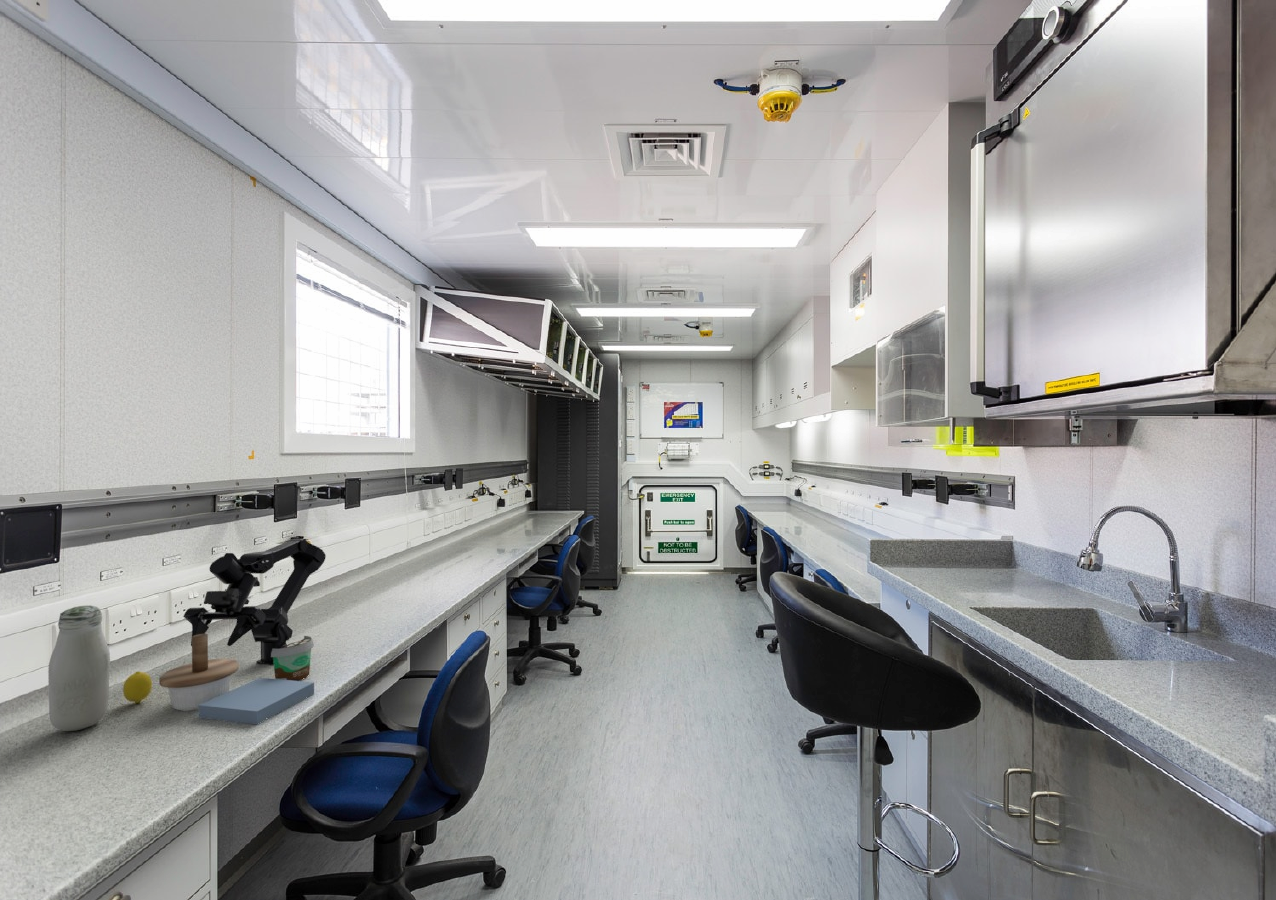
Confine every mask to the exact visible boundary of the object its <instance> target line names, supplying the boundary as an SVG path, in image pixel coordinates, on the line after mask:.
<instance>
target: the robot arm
mask: <svg viewBox="0 0 1276 900" xmlns="http://www.w3.org/2000/svg"><path fill="white" fill-rule="evenodd" d="M290 557H291V558H292V559H293V561H292V563H293V571H292V572H291V573H290V575H289V576H288V579H287V580H286V582H285V583H284V585H283V587H282V588H281V589H280V592H279V593H278V595H277V597H276V598H275V599H274V601H273V603H272V605H271V606H270V607H269V608H262V609H261V608H260V606H258V605H250V606H246V605H248V604H249V603H250V600H249V599H248V598H249V596H250V594H251V593H252V590H253V589H254V587H260V586H261V582H260V581H259V578H258V576H254V575H253V574H255V575H256V574H260V575H261V574H265V573H267V572H269V571H270V570H271V569H272V568H274V567H275V566H274V565H275V564H276V563H278V562H280V561H282V560H285V559H286V558H290ZM326 557H327V556H326V553H325V552H324V550H323V549H321V548H320V547H318V546H317V545H314V544H312V543H311V542H309V541H308V540H306V539H304V538H291V539H288V540H287V541H285V542H283V543H280V544H277V545H275V546H273V547H270V548H268V549H266V550H263V551H255V552H254V551H253V552H247V553H244V554H242V555H241V556H240V557H239V558H238V557H236V555H235V554H234V552H226V553H225V554H224V555H223V556H221V557H219V558H217V559H216V560H214V561H213V562H211V564H210V565H209V572H210V573H211V574H212V575H213V576H214V577H216V578H217V580H219V581H220V582H221V583H223V584H225V585H228V586H227V588H226V590H211V591H210V590H208V591H206V592H205V598H204V600H203V605H210V608H211V610H214V611H213V612H212V611H211V612H209V611H208V610H207V609H206V608H205V607H189V608H187V609H186V611H185V612H184V614H183V618H184V619H185V620H186V621H187V622H189V624H191V631H192V632H191V641H190V647H192V636H194V635H198V634H207V631H208V630H209V627H210V625H211V623H212V621H217V620H218V621H219V620H236V624H235V626H234V628H233V630H232V632H231V634H230V636H229V638H228V640H227V643H226V644H227V646H228V647H232V645H234V644H235V643H236V642H237V641H239V640H240V639H241V638H242V637H243V636H245V634H247V633H248V632H250V631H251V634H252V637H253V640H254V643H257V642H259V643H260V659H257V660H256V664H266V665H274V662H273V657H271V652H272V649H281V648H283V647H285V646H286V645H288V644H287V641H289V640H290V639H291V638H292V636H293V630H292V628H291V627H290V626H289V625H288V623H289V618H288V612H289V610H291V608H292V606H293V604H294V602H295V601H296V599H297V597H298V595H299V594H300V592H301V590H302V589H303V587H304V585H305V583H306V582H307V580H308V579H309V577H310V575H312V574H314V573H315V572H317V571H318V570H320V568H321V567H322V566H323V565H324V563H325V561H326Z"/></svg>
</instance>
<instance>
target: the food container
mask: <svg viewBox="0 0 1276 900" xmlns="http://www.w3.org/2000/svg"><path fill="white" fill-rule="evenodd" d="M314 647H315V644H314V640H313V639H312V636H309V635H303V638H302V639H301V640H298V641H296V642H295V641H294V642H292V643H288V644H287V645H286V646H285V647H283V648H281V649H272V652H271V657H273V662H274V664H273V672H274V679H282V680H293V681H299V680H300V681H303V680H304V679H303V678H305V679H306V677H307V676H308V675H309V676H310V669H311V659H312V658H311V656H312V655H311V654H312V649H313V648H314ZM309 676H308V677H309ZM308 677H307V678H308ZM302 679H303V680H302Z"/></svg>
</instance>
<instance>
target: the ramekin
mask: <svg viewBox="0 0 1276 900" xmlns="http://www.w3.org/2000/svg"><path fill="white" fill-rule="evenodd" d="M231 680H232V675H230V676H228V677H225V678H223V679H220V680H217V681H214V682H210V683H206V684H202V685H197V686H191V687H182V688H167V689H168V693H169V700H170V704H171V707H172V708H173V709H175V710H177V711H182V710H186V711H194V709H195V710H199V705H200V704H202V703H204V702H207V701H209V700H211V699H213V698H216V697H218V696H220V695H222V694H225V693H227V692H229V691H230V688H231Z"/></svg>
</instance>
